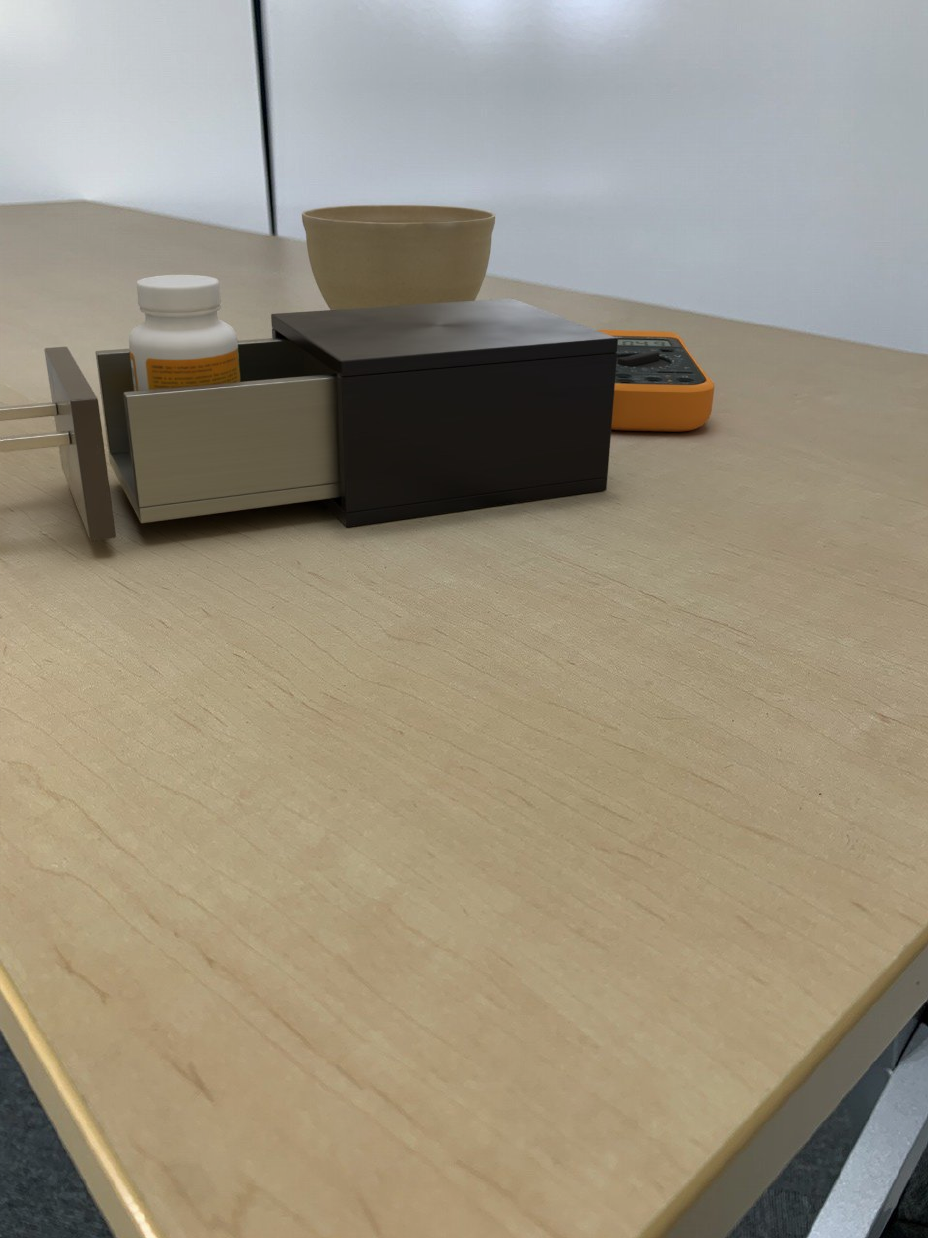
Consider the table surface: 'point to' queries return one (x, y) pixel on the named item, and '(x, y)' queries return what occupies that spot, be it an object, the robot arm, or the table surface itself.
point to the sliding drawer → (192, 436)
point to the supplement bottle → (182, 335)
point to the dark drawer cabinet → (461, 405)
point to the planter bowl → (397, 253)
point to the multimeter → (658, 384)
